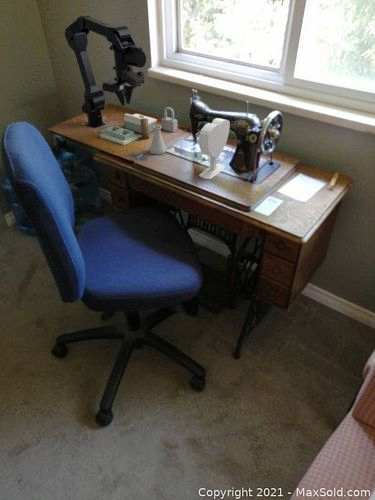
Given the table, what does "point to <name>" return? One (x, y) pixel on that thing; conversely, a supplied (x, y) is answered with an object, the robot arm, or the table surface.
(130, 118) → the cover
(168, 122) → the padlock
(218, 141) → the heart sculpture
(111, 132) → the build board
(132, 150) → the table surface
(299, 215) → the table surface
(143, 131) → the dowel
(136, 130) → the box
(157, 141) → the flask
